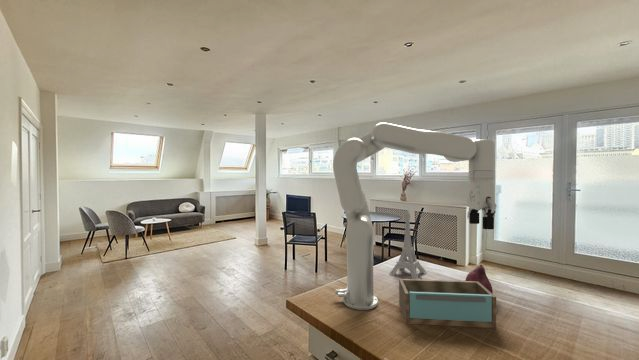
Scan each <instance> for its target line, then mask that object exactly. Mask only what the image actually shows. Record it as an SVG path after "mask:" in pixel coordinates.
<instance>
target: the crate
mask: <svg viewBox="0 0 639 360" xmlns="http://www.w3.org/2000/svg"><path fill="white" fill-rule="evenodd" d="M409 292H433V293H459V294H485V295H491V296H492V322H481V321H461V320H441V319H422V318H410V317H409ZM398 295H399V296H398V305H399V309H400V311H401V314H402V317H403V319H404V323H405V324H411V325H428V326H429V325H430V326H431V325H432V326H445V327H446V326H447V327H449V326H450V327H451V326H452V327H466V328H467V327H469V328H486V329H488V328H489V329H497V296H496V295H495V294H492V293H491V292H490V291H489V290H487V289H486V288H485V287H484V286H483V285H482V284H480V283H479V282H478V281H465V280H447V279H446V280H445V279H420V278H419V279H412V278H411V279H410V278H399V279H398Z"/></svg>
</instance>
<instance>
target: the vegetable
mask: <svg viewBox="0 0 639 360" xmlns="http://www.w3.org/2000/svg"><path fill="white" fill-rule="evenodd" d="M464 281H478V282H479V283H480V284H482V285H483V286H484V287H485V288H486V289H487V290H489V291H490V292H491V293H492V294H493V293H494V292H493V287H492V284H491V282H490V279H489V277H488V276H487V273H486V269H485V267H484V265H482V264H480V265H477V266H476V267H475V268H474V269H472V270H471V271H469V273H467V275H466V276H465V279H464ZM493 295H494V294H493Z"/></svg>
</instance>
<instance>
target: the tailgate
mask: <svg viewBox="0 0 639 360" xmlns="http://www.w3.org/2000/svg"><path fill="white" fill-rule="evenodd" d="M409 317H410V318H422V319H441V320H461V321H481V322H492V296H491V295H485V294H459V293H433V292H409Z"/></svg>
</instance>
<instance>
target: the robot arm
mask: <svg viewBox="0 0 639 360" xmlns="http://www.w3.org/2000/svg"><path fill="white" fill-rule="evenodd" d="M385 148H386V149H387V148H388V149H391V150H396V151H401V152H404V153H409V154H410V153H411V154H415V155H416V154H417V155H426V154H427V155H435V156H441V157H443V158H445V159H446V161H448V162H452V163H458V162H465V161H468V186H467V196H466V198H467V200H466V205H467V207H468V208H469V209H468V212H469V220H468V222H469V224H471V225H473V224H474V225H476V224H477V225H478V224H480V212H479V211H482V214H483V216H482V229H483V230H494V228H495V216H496V215H495V214H496V209H497V204H496V203H495V199H496V198H495V187H494V181H495V148H496V147H495V141H494V140H492V139H490V138H489V139H487V138H484V139H482V138H480V139H474V140H473V139H472V138H469V137H466V136H463V135H457V134H453V133H448V132H441V131H433V130H426V129H419V128H413V127H407V126H403V125H398V124H394V123H388V122H379V123H377V124H375V125H374V126H373V127H372V129H371V131H368V133H365V134H364V135H362V136H360V137H359V138H358V137H351V138H348V139H346V140H345V141H344V142H342V143H341V144H340V145H339V147H338V148H337V150H336V152H335V153H334V157H333V159H332V160H333V161H332V166H333V167H332V168H333V170H332V171H333V175H334V179H335V184H336V188H337V192H338V196H339V197H338V198H339V202H340V205H341V208H342V209H343V210H344V213H345V218H346V221H347V225H346V230H345V231H346V233H345V235H346V236H345V238H346V239H345V240H346V267H347V268H346V270H347V273H346V274H347V275H346V276H347V277H346V281H347V282H346V283H347V284H346V288H343V289H340V288H335V290H334V293H335V295H337V297H338V298H342V299H343V300H342V301H343V303H344V305H345V306H347V307H348V308H350V309H354V310H358V311H368V310H372V309H375V308H376V307H377V306H378V305H379V299H378V298H377V296H376V295H374V291H375V289H374V226H373V222H372V218H371V213H370V210H369V205H368V202H367V199H366V194H365V193H364V191H363V188H362V186H361V181H360V177H359V173H358V169H357V166H358V163H361V162H363V161H364V160H366V159H368V158H369V157H371V156H373V155H375V154H377V153H379V152H380V151H382V150H383V149H385Z"/></svg>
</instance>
